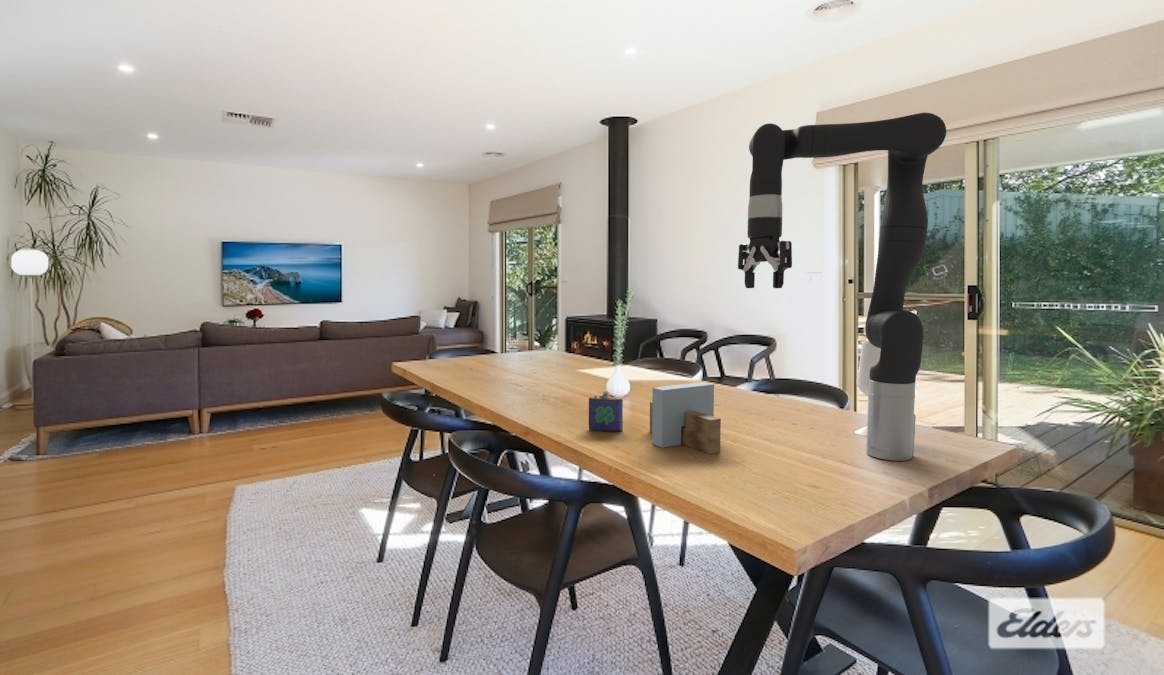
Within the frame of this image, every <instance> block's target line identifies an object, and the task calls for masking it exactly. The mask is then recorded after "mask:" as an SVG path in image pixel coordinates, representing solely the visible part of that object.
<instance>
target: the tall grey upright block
mask: <svg viewBox="0 0 1164 675" xmlns="http://www.w3.org/2000/svg"><path fill="white" fill-rule="evenodd" d="M651 396H652V398H651V399H652V401H651V402H652V432H651V434H652V435H651V437H652V438H651V442H652V443H651V444H652V445H653V446H657V447H659V448H661V449H662V448H668V447H669V448H670V447H675V446H680V445H681V446H682V444H681V426H685V413H686V412H693V411H696V412H699V413H703V414H706V415H710V416H713V417H715V416H714V412H715V411H714V407H715V406H714V405H715V404H714V403H715V384H713V383H710V382H705V381H701V382H693V383H692V382H691V383H683V384H675V385H674V384H673V385H664V386H658V387H657V386H656V387H652V395H651Z"/></svg>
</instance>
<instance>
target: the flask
mask: <svg viewBox="0 0 1164 675" xmlns="http://www.w3.org/2000/svg"><path fill="white" fill-rule="evenodd" d="M602 393H603V394H602V395H599V394H598V395H596V394H595V395H594V396H590V397H589V398H588V431H590V432H600V433H601V432H603V433H604V432H607V433H613V432H614V433H621V432H623V430H624V424H623V423H624V421H623V420H624V419H623V418H624V416H623V415H624V414H623V411H624V410H623V403H624V402H623V401H624V400H623V398H622V397H609V391H602Z"/></svg>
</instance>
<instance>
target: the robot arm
mask: <svg viewBox="0 0 1164 675" xmlns="http://www.w3.org/2000/svg"><path fill="white" fill-rule="evenodd" d="M946 136H947V127H946V124H945V122H944V120H943V119H942V118H941V117H940V116H938V115H937V114H934V113H931V112H919V113H914V114H909V115H904V116H900V117H894V118H887V119H883V120H882V119H880V120H874V121H864V122H863V121H862V122H850V123H846V122H845V123H829V124H828V123H823V124H805V125H801V126H798V127H796V128H793V129H782V127H780V126H779V125H777V124H775V123H772V122H771V123H764V124H763V125H761V126H759V127H758V128H757V129H756V130H755V131H754V133H753V135H752V136H751V138H750V141H749V145H748V148H749V149H748V150H749V153H750V155H751V156H752V162H751V163H752V171H751V174H750V177H749V178H750V179H749V200H748V206H747V238H748V239H749V244H748V243H740V244H739V245H738V259H737V269H738V270H741V271H743V272H744V285H745V286H744V287H745V288H746V289H754V288H755V276H756V275H755V274H756V273H755V270H756V268H757V266H758V265H761V263H765V262H767V263H768V264H769V265H771V267H772V269H773V272H772V274H773V276H772V288H773V289H782V288H783V286H784V280H785V278H784V277H785V271H786V270H788V269H792V266H793V254H792V253H793V252H792V250H793V249H792V246H793V245H792V244H793V243H792V241H791V240H780V238H781V237H782V236H783V233H782V232H783V198H782V197H783V196H782V193H783V190H782V189H783V178H782V177H783V176H782V175H783V174H782V172H783V166H784V161H785V160H792V159H799V158H800V159H803V158H804V159H807V158H809V159H811V158H813V159H814V158H832V157H839V156H846V155H852V154H857V153H858V154H859V153H866V152H874V151H875V152H876V151H887V184H886V191H885V197H884V203H883V209H882V216H881V217H882V218H881V224H880V229H879V237H878V250H877V259H876V267H875V273H874V274H875V275H874V283H873V289H872V294H871V298H870V303H869V306H868V311H867V315H866V316H867V317H866V320H865V328H864V330H865V331H864V332H865V336H866V339H867V341H869V342H870V343H871V344H872V345H873V346H875V347H877V348H881V352H880V359H879V362H878V363H877V364H876V365H874V366H872V367H871V369H870V379H869V404H868V403H867V406H868V429H867V436H866V454H867V455H868V456H870V457H874V458H877V459H880V460H887V461H895V462H897V461H902V462H903V461H908V460H911V459H912V458H913V456H914V455H915V454H914V453H915V437H916V436H915V434H916V433H915V432H916V417H917V416H916V414H915V403H916V402H915V401H916V400H915V398H916V397H915V396H916V379H917V374H918V372H919V371H920V368H921V366H922V365H921V364H922V354H923V345H924V326H923V323H922V321H921V319H920V317H919V316H918V315H917V314H916V313H915V312H913V311H909V310H904V306H905V304H904V303H905V296H906V290H907V287H908V284H909V282H910V280H911V278H912V277H913V275H914V273H915V271H916V270H917V268H918V265H919V264H920V261H921V260H922V257H923V255H924V253H925V248H926V242H927V241H926V240H927V236H928V235H927V233H928V225H929V223H928V222H929V221H928V220H929V219H928V218H929V217H928V210H927V205H926V201H925V196H924V191H923V190H924V189H923V182H924V174H925V169H926V165H927V159H928V156H930V155H932V154H933V153H934V152H936V151H937V150H938V149H939V148H940V147H941V145H942V144H943V143H944V141H945V140H946Z"/></svg>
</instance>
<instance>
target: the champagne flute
mask: <svg viewBox="0 0 1164 675" xmlns="http://www.w3.org/2000/svg"><path fill="white" fill-rule="evenodd" d="M861 343H862V344H861V350H860V357H859V362H858V363H859V364H858V372H857V378H856V386H857V387H858V389H859V390H860V391H861V392H862V393H863V394H864V395H865V396H866V397H867V408H866V409H867V410H866V411H867V412H866V414H867V415H866V426H864V427H862V428H859V429H858V430H855V431H854V433H855V434H857V435H859V436H863V437H867V429H868V404H869V379H870V369H871V367H872V366H874V365H876V364H877V363H878V362H879V359H880V352H881V348H877V347H875V346H873V345H872V344H871V343H870V342H869V341H868V340H865V341H863V340H862V342H861Z"/></svg>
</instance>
